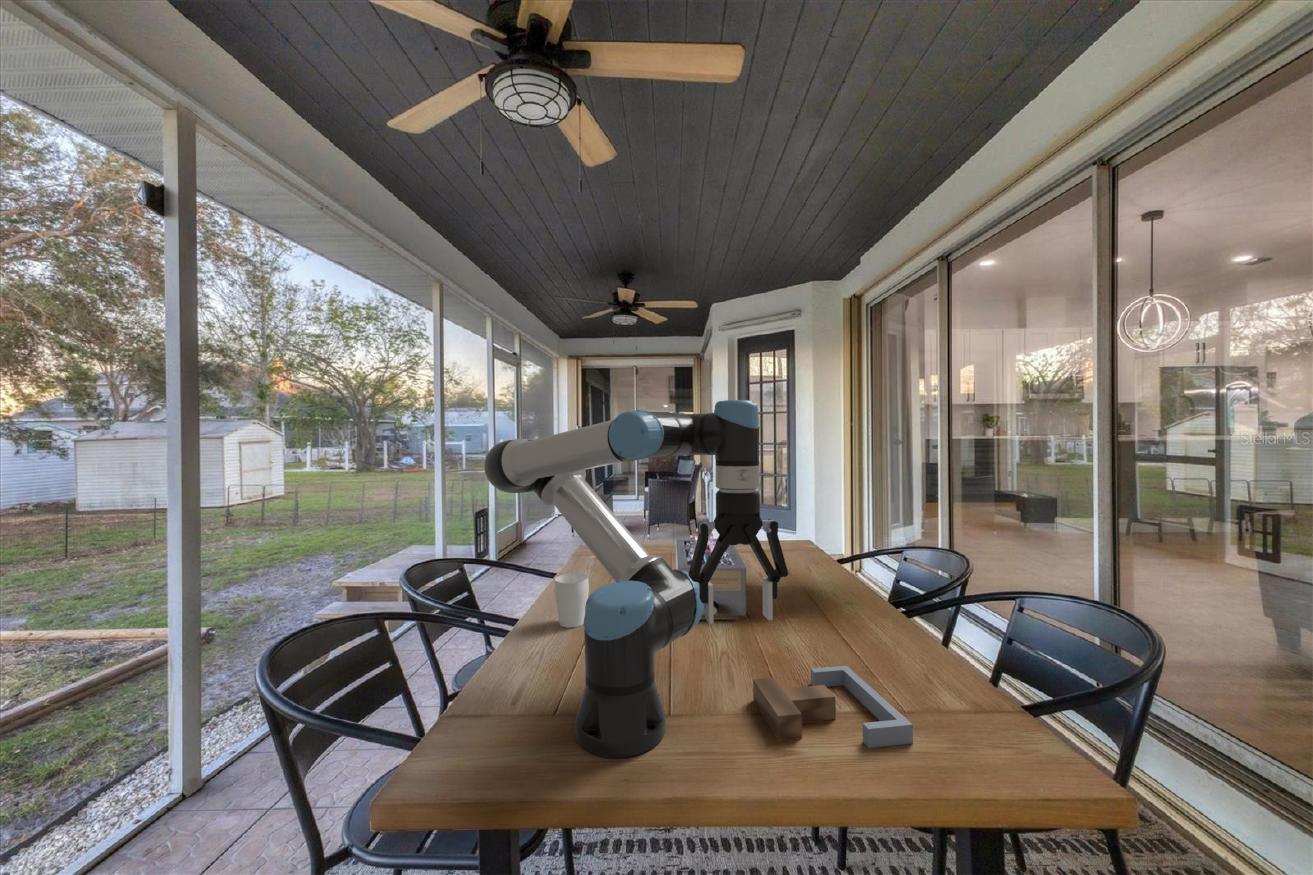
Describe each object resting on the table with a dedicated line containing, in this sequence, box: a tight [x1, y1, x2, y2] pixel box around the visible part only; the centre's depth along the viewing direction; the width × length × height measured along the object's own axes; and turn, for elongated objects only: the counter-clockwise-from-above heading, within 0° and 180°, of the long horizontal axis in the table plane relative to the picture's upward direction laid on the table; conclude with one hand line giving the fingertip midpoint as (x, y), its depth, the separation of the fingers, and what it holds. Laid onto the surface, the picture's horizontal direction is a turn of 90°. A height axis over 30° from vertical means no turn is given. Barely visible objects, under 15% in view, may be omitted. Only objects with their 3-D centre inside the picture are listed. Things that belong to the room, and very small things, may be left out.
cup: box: [554, 572, 590, 629], centre depth 128 cm, size 9×9×12 cm
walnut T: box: [752, 677, 837, 742], centre depth 85 cm, size 12×12×4 cm
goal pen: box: [810, 665, 914, 749], centre depth 86 cm, size 8×20×3 cm, turn 8°
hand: (738, 619), depth 83 cm, fingers open, 10 cm apart
